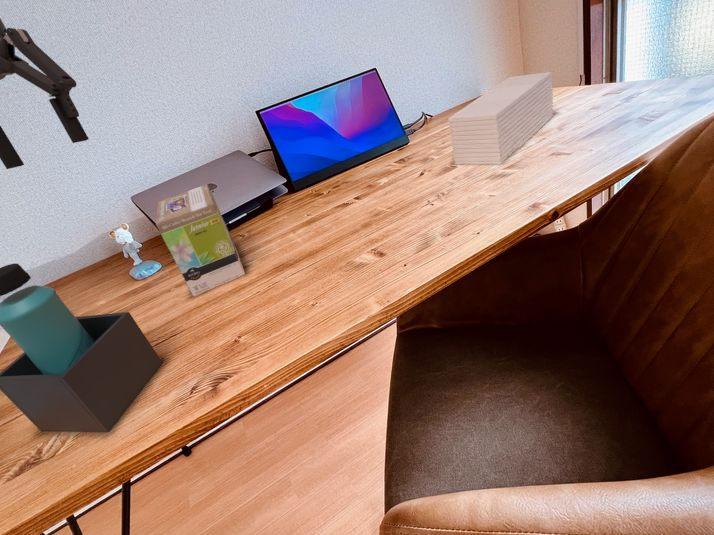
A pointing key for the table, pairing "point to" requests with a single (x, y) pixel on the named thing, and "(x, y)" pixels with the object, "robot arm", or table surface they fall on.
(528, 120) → the stack of papers
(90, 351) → the waste bin
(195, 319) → the table surface
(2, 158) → the robot arm
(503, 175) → the table surface
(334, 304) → the table surface
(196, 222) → the tea box
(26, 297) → the beverage bottle
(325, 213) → the table surface
